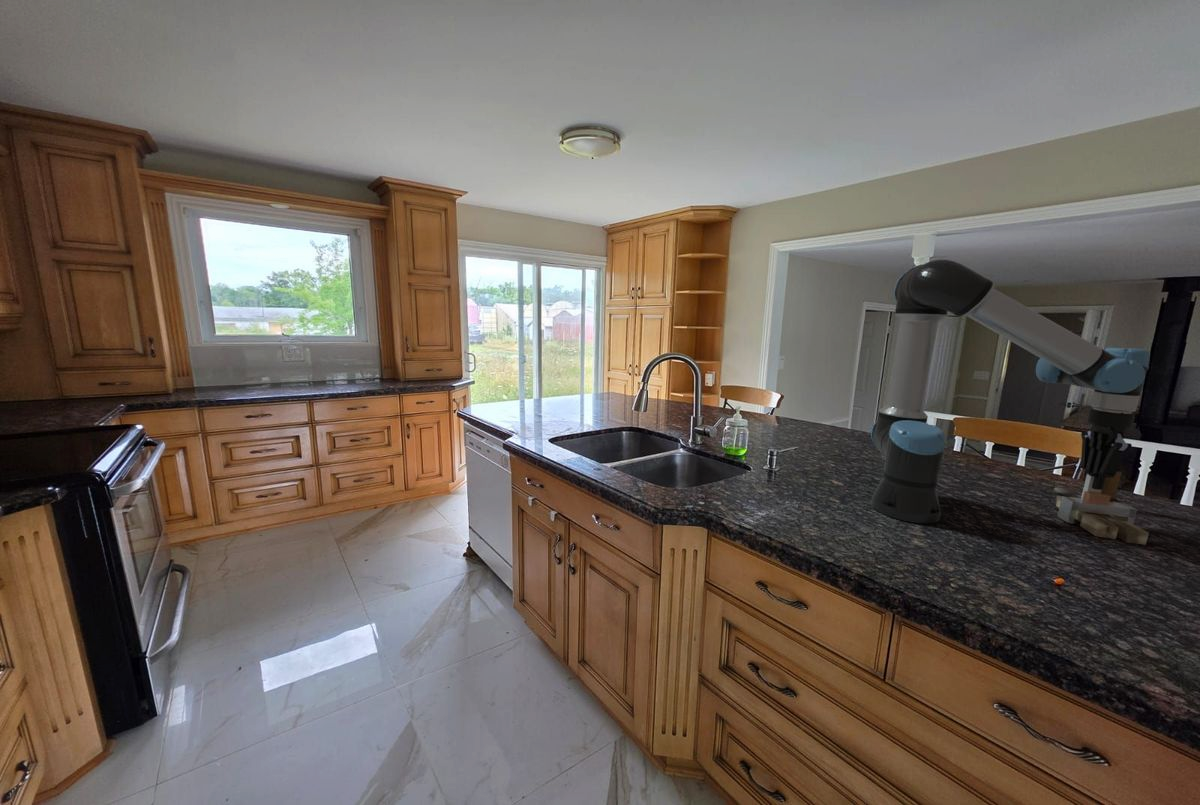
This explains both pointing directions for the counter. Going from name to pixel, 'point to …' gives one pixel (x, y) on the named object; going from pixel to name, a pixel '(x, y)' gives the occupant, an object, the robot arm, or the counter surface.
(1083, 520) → the tongs hinged arm
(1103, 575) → the counter surface
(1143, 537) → the tongs fixed arm
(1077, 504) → the lock collar
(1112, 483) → the brown wooden post
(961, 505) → the counter surface
